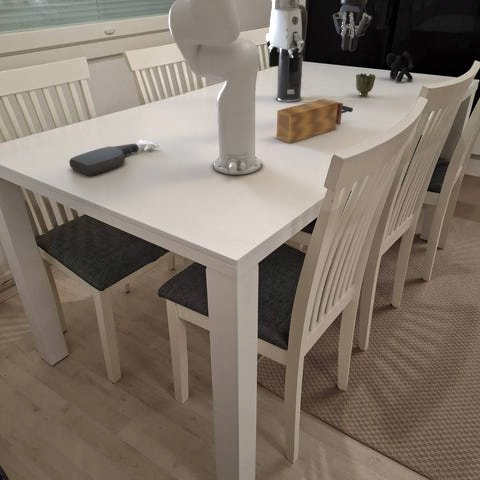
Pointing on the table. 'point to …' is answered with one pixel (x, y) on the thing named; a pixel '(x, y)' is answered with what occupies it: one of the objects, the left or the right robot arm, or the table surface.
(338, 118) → the drawer
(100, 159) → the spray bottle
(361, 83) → the cup
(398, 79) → the squiggle
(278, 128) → the cabinet
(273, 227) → the table surface
